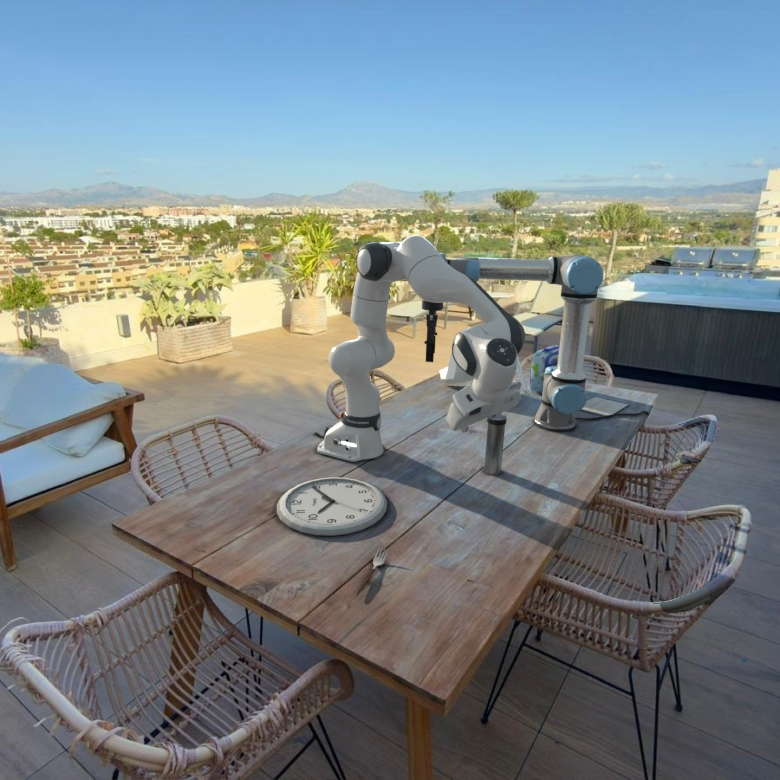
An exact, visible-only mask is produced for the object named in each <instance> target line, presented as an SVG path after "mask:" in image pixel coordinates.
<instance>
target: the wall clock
mask: <svg viewBox="0 0 780 780" xmlns="http://www.w3.org/2000/svg"><path fill="white" fill-rule="evenodd" d="M387 509H388V500H387V498H386V496H385V494H384V493H383V492H382V491H381V490H380V489H379V488H377V487H376V486H374V485H372V484H371V483H369V482H365V481H362V480H359V479H355V478H349V477H338V476H337V477H335V476H333V477H332V476H331V477H322V478H317V479H312V480H307V481H305V482H302V483H299V484H297V485H295V486H293V487H292V488H290V489H288V490H287V491H286V492H285V493H284V494H283V495H281V496H280V498H279V499H278V502H277V503H276V515H277V517H278V518H279V520H280V521H281V522H282V523H283V524H285V525H286V526H287V527H288V528H290V529H293V530H295V531H297V532H299V533H303V534H308V535H312V536H327V537H328V536H329V537H331V536H332V537H333V536H342V535H350V534H352V533H356V532H361V531H363V530H366V529H368V528H369V527H372V526H373V525H375V524H376V523H378V522H379V521H380V520H381V519H382V518H383V517H384V516H385V514H386V512H387Z"/></svg>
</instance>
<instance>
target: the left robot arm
mask: <svg viewBox="0 0 780 780" xmlns="http://www.w3.org/2000/svg"><path fill="white" fill-rule="evenodd" d="M440 253H441V252H439V251H438V250H437V248H436V247H435V246H434V245H433V243H431V242H430V241H429V240H427V238H425V237H424V236H421V235H418V234H416V235H415V234H414V235H411V236H408V237H406V238H405V239H404V240H401V242H400V241H388V242H386V241H385V242H383V241H382V242H376V241H373V242H367V243H364V244H363V245H362V246H360V247H359V249H358V252H357V254H356V259H355V264H356V269H357V273H356V277H355V281H354V286H353V293H352V299H351V307H350V320H351V322H352V323H353V324H354V325H355V326H357V332H358V333H357V338H354V339H350V340H346V341H342V342H341V343H339V344H337V345H335V346H334V347H332V348H331V350H330V351H329V354H328V365H329V367H330V369H331V370H332V372H333V373H334V374H335V375H337V376H338V377H339V379H340V380H341V382H342V384H343V388H344V392H345V408H344V409H343V411H341V412H340V414H339V417H338V419H340V421H338V422H337V423H334V424H331V425H327V426H326V427H325V429H324V432H323V435H321V434H320V433H318V432H314V435H315V436H317V437H318V438H321V439H323V440H322V441H321V442H320V443H319V444H318V445H317V449H316V451H317V453H318V454H321V455H325V456H328V457H333V458H336V459H339V460H343V461H347V462H351V463H357V462H360V461H363V460H371V459H375V458H379V457H380V456H382V455H383V453H384V452H385V450H384V446H383V442H382V438H381V436H382V435H381V426H382V425H381V424H382V417H381V410H380V389H379V387H378V386H377V384H375V383H373V382H372V380H371V375H370V373H371V371H374V370H377V369H380V368H383V367H385V366H386V365H387V364H389V363H390V362H391V361H392V360H393V359H394V357H395V354H396V353H395V351H396V349H395V345H394V343H393V341H392V340H391V338H389V335H388V332H387V314H388V308H389V307H388V305H389V300H390V291H391V286H392V284H393V283H396V282H408V284H409V285H410V287H411V289H412V290H413V292H414V293H415V294H416V295H417V296H418V297H419V298H420V299H421V300H422V299H423V300H425V301H428V302H433V303H443V304H444V303H451V304H452V303H455V304H462V305H465V306H467V307H469V308H470V309H471V310H473V311H474V312H475V314H477V316H478V317H479V318H480V319H481V320H482V321H484V323H481V324H478V325H474V326H471V327H469V328H466V329H463V330H461V331H458V332H457V333H456V334H455V335H454V338H453V340H452V345H451V352H452V355H453V358H454V360H455V362H456V364H457V365H458V366H459V367H460V368H461V369H462V370H463V371H464V372H466V373H467V374H468V375H470V376H473V377H474V380H473V381H472V382H469V383H468V384H467V385H466V386H464V388H462V389H460V390H458V391H457V392H455V393H454V394H453V395H452V401H453V402H452V403H451V404H450V406H449V408H448V411H447V415H446V422H447V425H448V426H449V428H450V430H452V431H454V432H456V431H459V430H460V431H461V433H462V434H464V433H467V432H468V431H469V429H470V427H469V426H470V425H473V424H475V423H478V422H481V421H483V420H485V419H487V418H488V417H490V418H492V420H496V419H498V416H499V415H500V414H502V413H504V412H505V411H507V410H510V409H513V408H515V407H516V406H517V405H518V403H519V401H520V397H521V389H522V386H521V385H522V384H521V382H520V381H518V380H514V378H515V375H516V372H517V369H516V368H517V361H518V359H519V355H518V354H519V353H520V352H521V350H522V349H523V347H524V344H525V341H526V331H525V329H524V327H523V325H522V323H521V322H520V321H519V320H518V319H517V318H516V317H514V316H513V315H512V314H510V313H508V311H506V310H505V309H504V308H503V307H502V306H501V305H500V304H499V303H498V302H497V301H496V300H495V299H494V298H493V297H492V296H491V295H490V294H489V293H488V292H487V290H486V289H484V288H483V286H481V284H480V283H478V282H476V281H475V280H474V279H473V278H471V277H470V276H468V275H465V274H462V273H460V272H458V271H457V270H455V269H454V268H452V267H451V266H450V265H448V264H447V263H446V261H445V260H444V259H443V257H442V256H441V255H440ZM517 355H518V356H517ZM513 380H514V381H513ZM512 381H513V382H512Z"/></svg>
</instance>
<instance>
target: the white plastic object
mask: <svg viewBox="0 0 780 780" xmlns="http://www.w3.org/2000/svg"><path fill="white" fill-rule="evenodd" d="M517 356H518V357H519V355H518V354H517ZM522 368H523V367H522V366H521V362H520V359H519V358H518V361H517V368H516V372H517V376H518V380H519V382H521V384H522V385H521V389H522V391H523V393H524V395H525V396H526V397H528V396H531V395H530V389H529V388H528V387H529V386H528V384H527V381H526V378H525V375H524V371H523V369H522ZM438 372H439V376H440V381H442V383H443V384H444V385H445V386H449V385H458V384H467V383H468V384H469V383H471V382H472V381H473V380H474V377H473V376H470V375H468V374H467V373H466V372H464V371H463V370H462V369H461V368H460V367H459V366H458V365H457V364H456V362H455V360H454V358H453V355H452V351H451V353H450V357H449V362H448V366H446V367H444V368H442V369H440V370H439V371H438ZM512 382H514V381H513V380H512Z"/></svg>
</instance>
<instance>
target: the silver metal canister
mask: <svg viewBox="0 0 780 780" xmlns="http://www.w3.org/2000/svg"><path fill="white" fill-rule="evenodd" d="M505 429H506V424H505V425H492V424H489V423H488V422H487V430H486V442H485V443H486V445H485V456H484V467H483V468H484V469H483V470H484V472H485V473H486V474H488V475H491V476H492V475H493V476H496V475H500V474H501V473H502V464H503V455H504V443H505V442H504V441H505V432H506V430H505Z"/></svg>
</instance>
